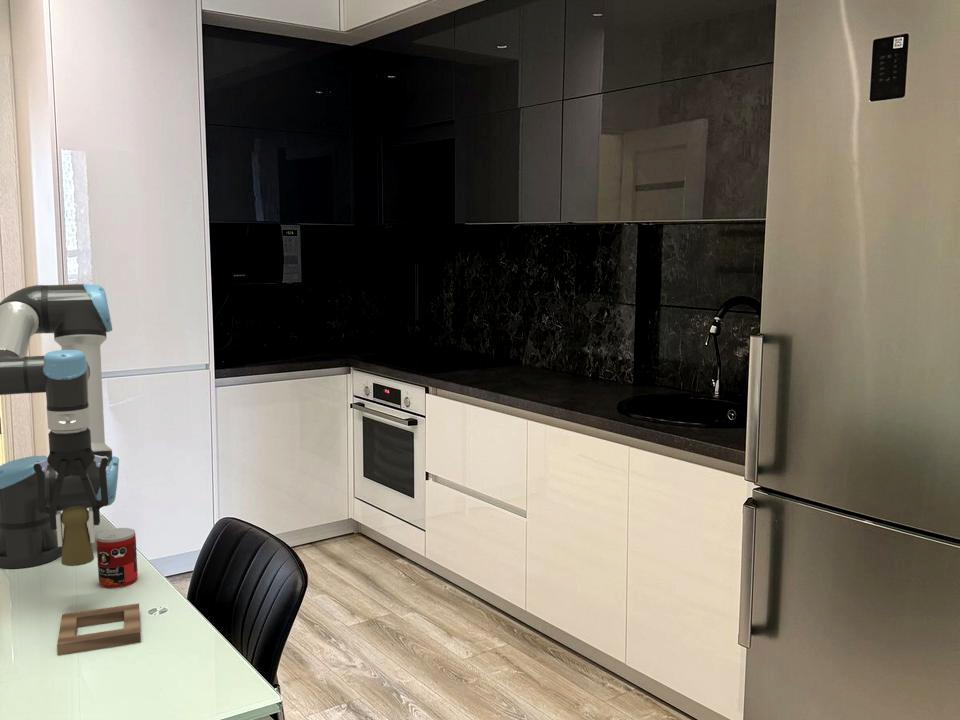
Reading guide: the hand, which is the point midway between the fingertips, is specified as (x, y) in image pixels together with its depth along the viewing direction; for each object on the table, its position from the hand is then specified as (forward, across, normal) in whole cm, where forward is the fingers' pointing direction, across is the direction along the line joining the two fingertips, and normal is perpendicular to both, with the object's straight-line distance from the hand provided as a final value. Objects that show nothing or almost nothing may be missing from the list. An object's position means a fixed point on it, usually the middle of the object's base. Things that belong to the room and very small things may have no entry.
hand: (76, 542), depth 177 cm
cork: (+4, 0, 0) cm, 4 cm away
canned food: (+14, +7, +12) cm, 20 cm away
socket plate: (+14, +4, -14) cm, 20 cm away
